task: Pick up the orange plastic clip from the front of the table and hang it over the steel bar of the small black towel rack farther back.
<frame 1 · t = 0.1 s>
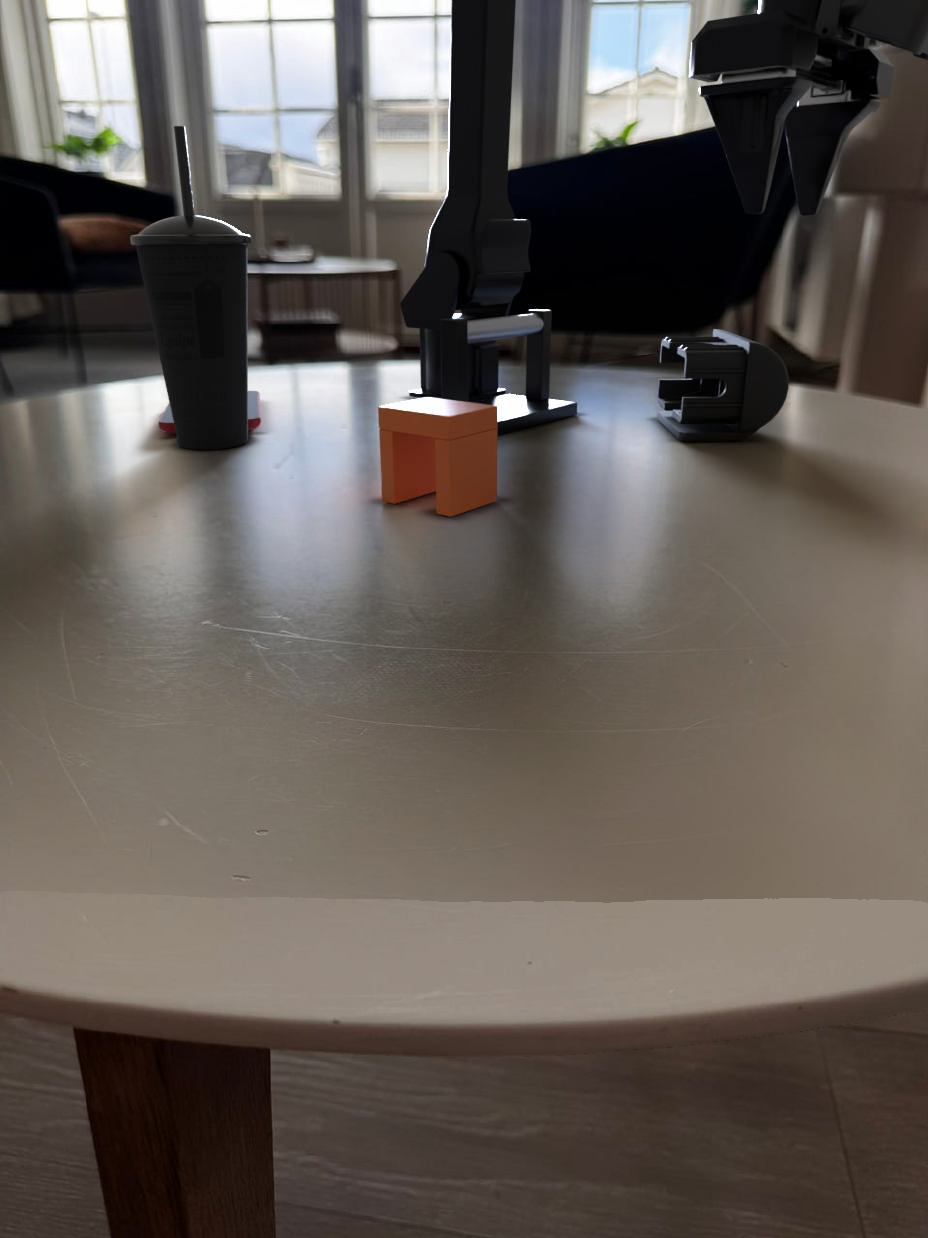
hand: (782, 214, 61), 15 cm above the table, tool pointing down, fingers open, 9 cm apart
clip: (439, 501, 51), on the table
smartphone: (214, 418, 75), on the table
drinking cup: (214, 445, 66), on the table
rack: (498, 420, 73), on the table
end cap: (714, 431, 69), on the table
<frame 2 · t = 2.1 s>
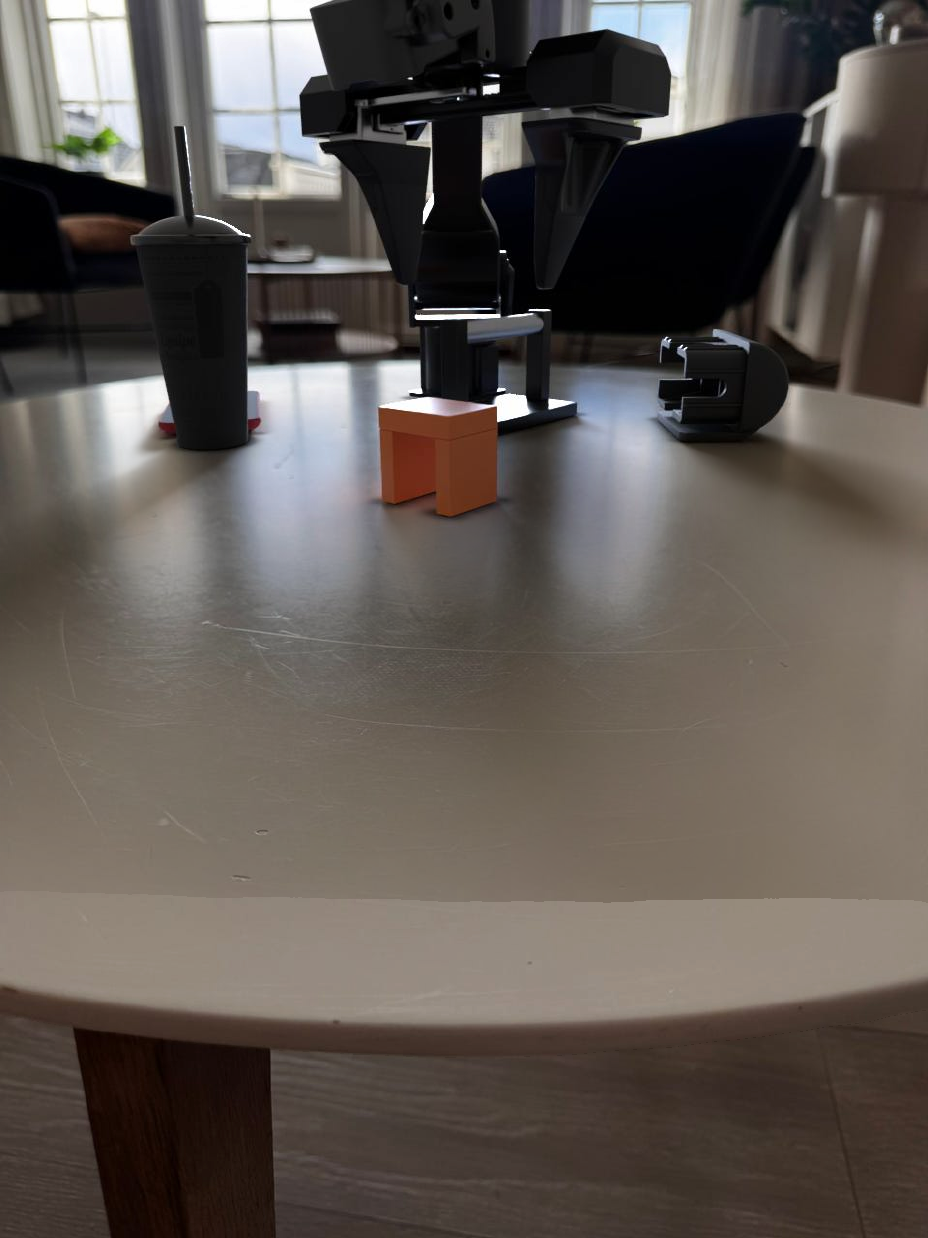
hand: (471, 286, 48), 11 cm above the table, tool pointing down, fingers open, 9 cm apart
nothing on the table moved.
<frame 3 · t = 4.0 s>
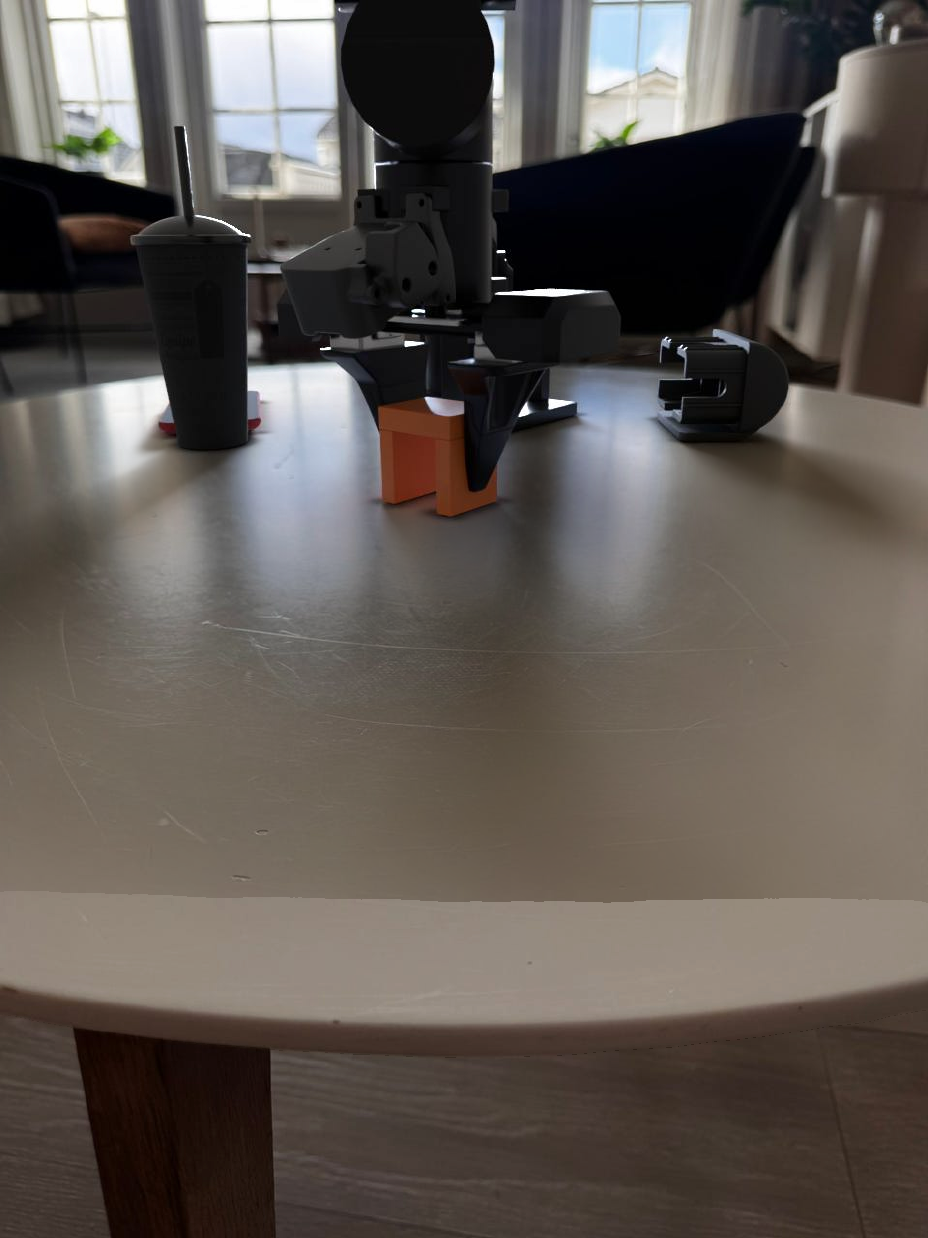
hand: (439, 483, 51), 1 cm above the table, tool pointing down, fingers closed on clip, 5 cm apart
clip: (439, 501, 51), on the table, touching gripper
everything else where it was.
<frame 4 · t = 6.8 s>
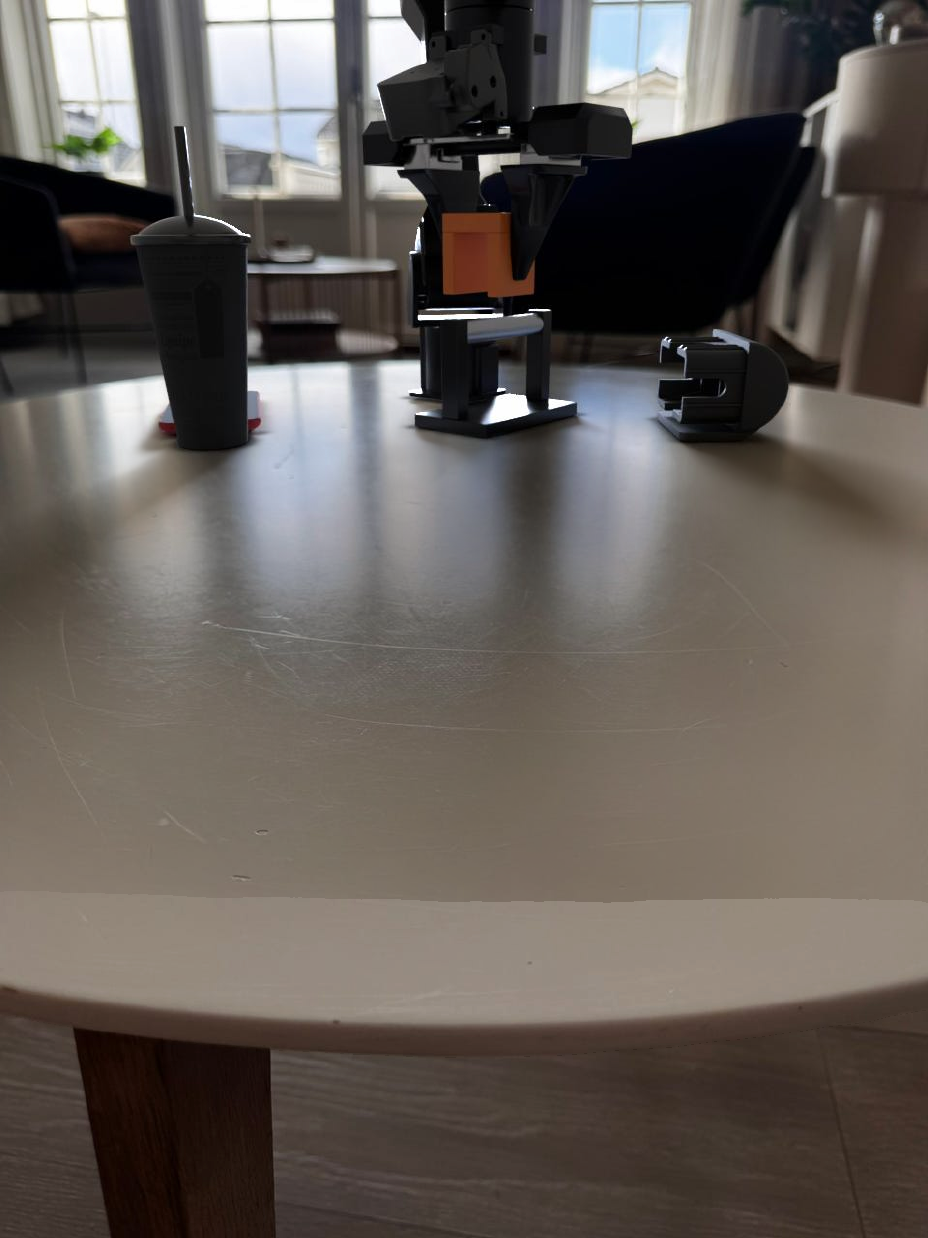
hand: (488, 278, 64), 11 cm above the table, tool pointing down, fingers closed on clip, 5 cm apart
clip: (488, 293, 65), point 10 cm above the table, touching gripper
everything else where it was.
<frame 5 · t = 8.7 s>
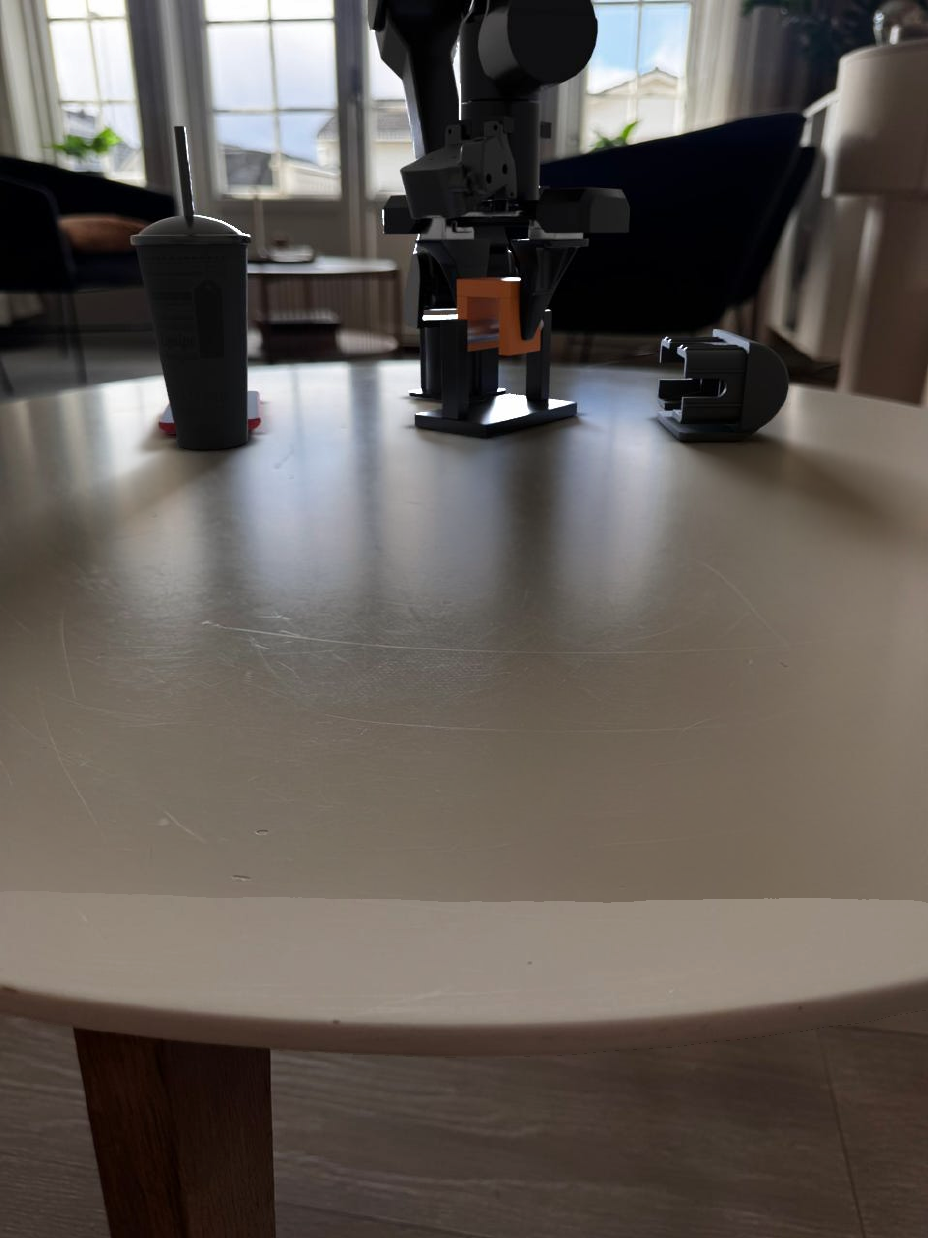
hand: (498, 337, 71), 6 cm above the table, tool pointing down, fingers closed on clip, 5 cm apart
clip: (498, 350, 71), point 5 cm above the table, touching gripper
everything else where it was.
when the fingers open (5 cm above the table, at t = 9.8 s): clip stays where it is, resting on rack.
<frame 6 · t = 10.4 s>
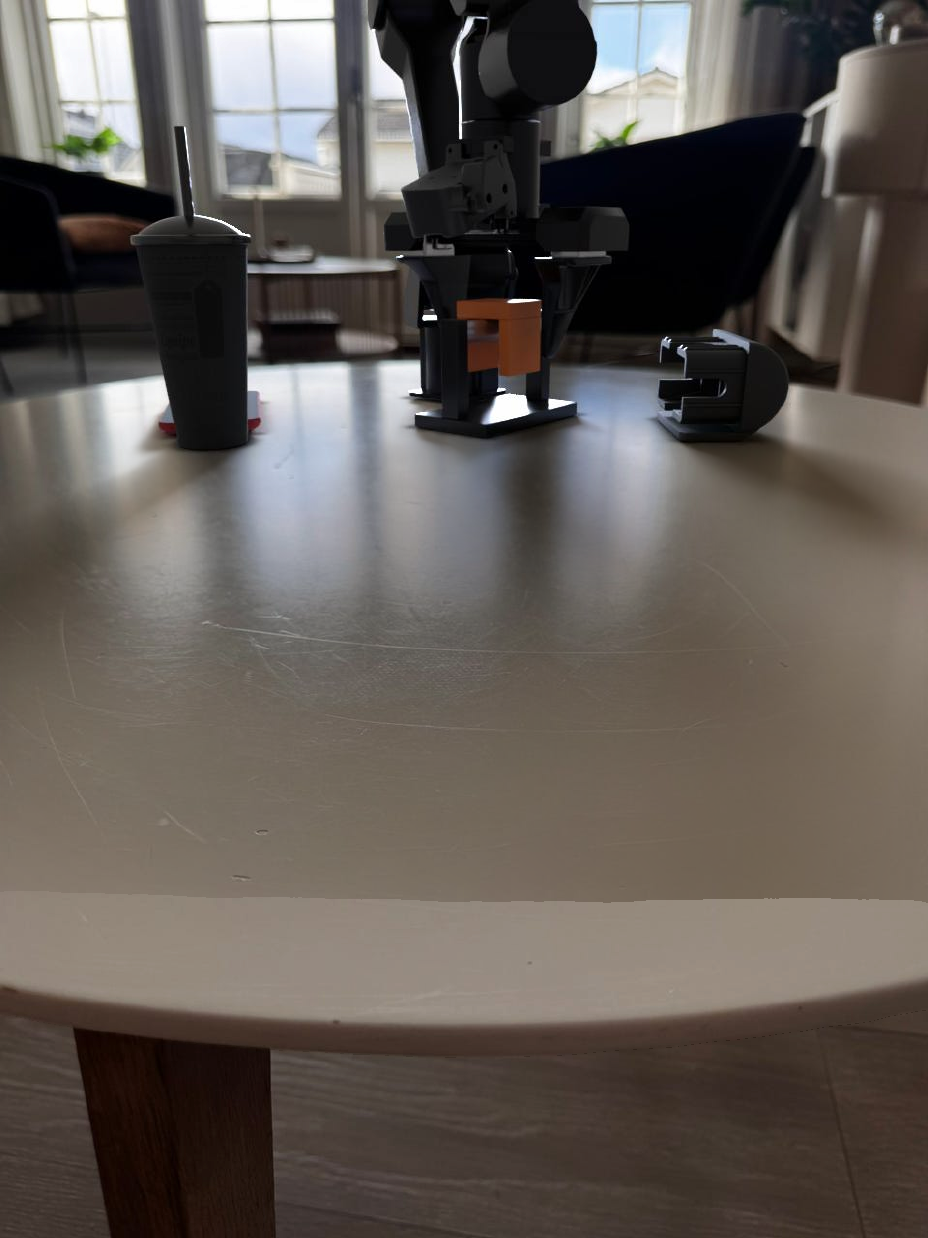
hand: (498, 353, 71), 5 cm above the table, tool pointing down, fingers open, 9 cm apart
clip: (498, 371, 71), point 4 cm above the table, touching rack
everything else where it was.
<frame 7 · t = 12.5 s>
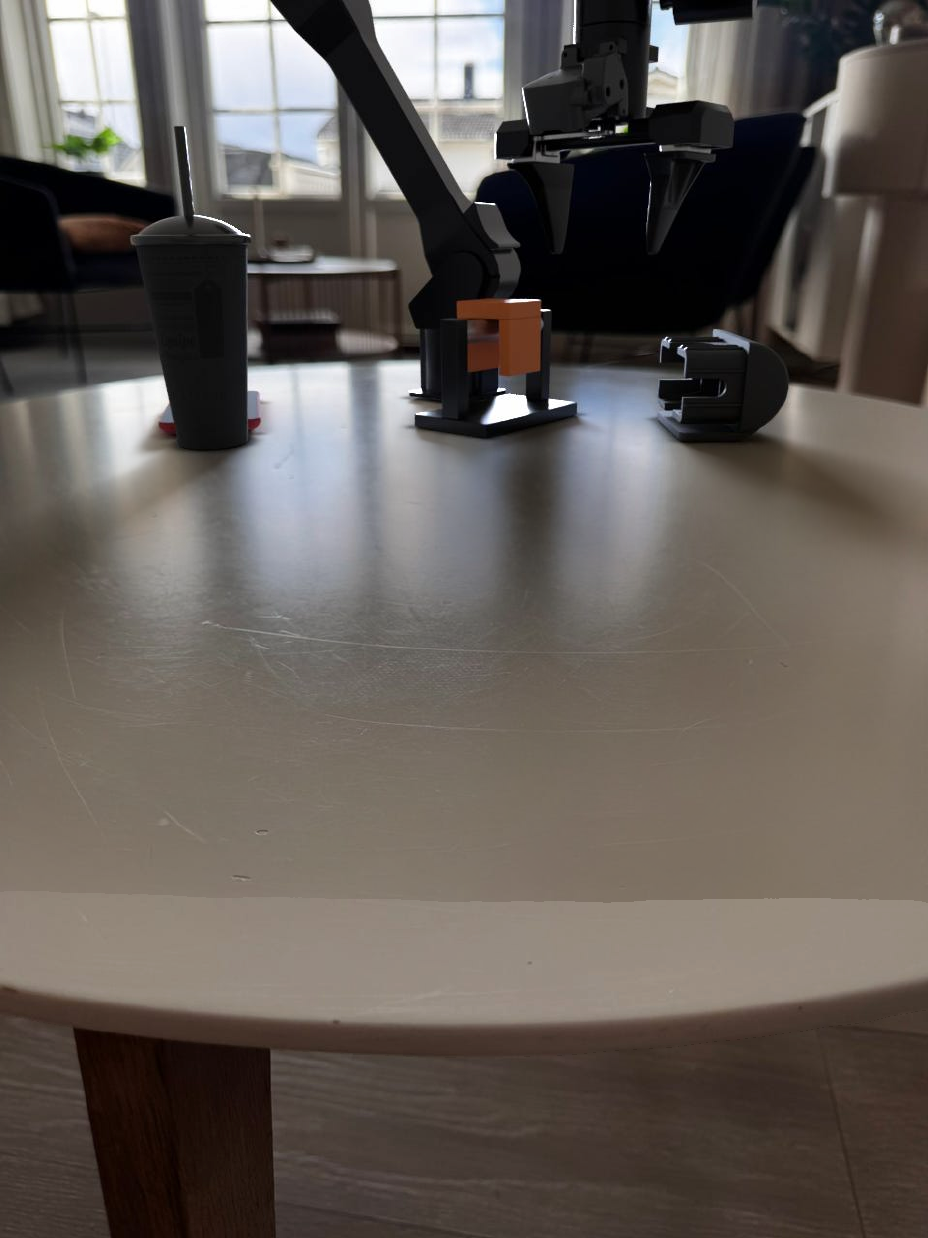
hand: (602, 253, 75), 12 cm above the table, tool pointing down, fingers open, 9 cm apart
nothing on the table moved.
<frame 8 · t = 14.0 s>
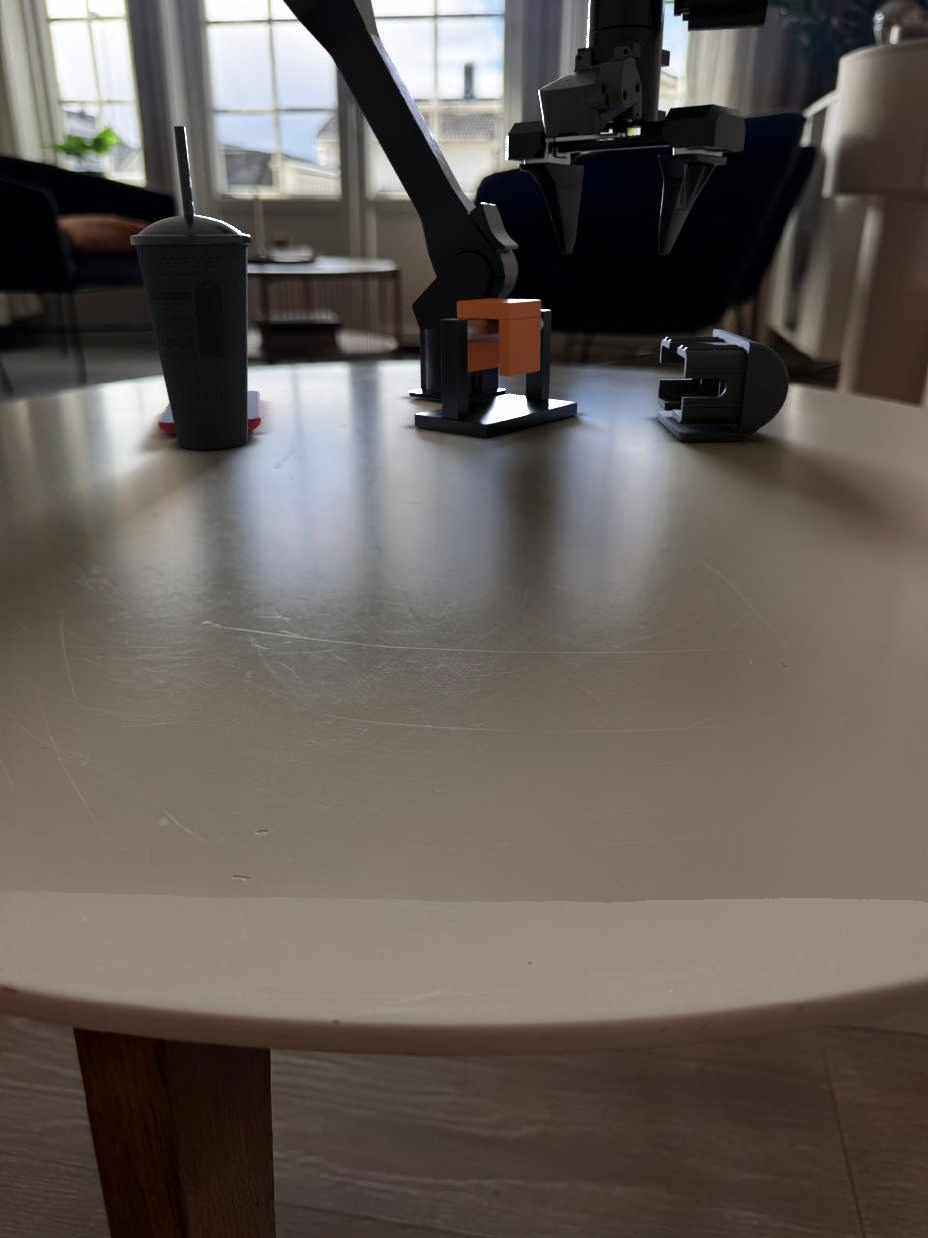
hand: (613, 254, 76), 12 cm above the table, tool pointing down, fingers open, 9 cm apart
nothing on the table moved.
at the end: clip 0.0 cm off-centre on the rack, point 3.8 cm above the rack's base; clip tilted 1°; the gripper is holding nothing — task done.
